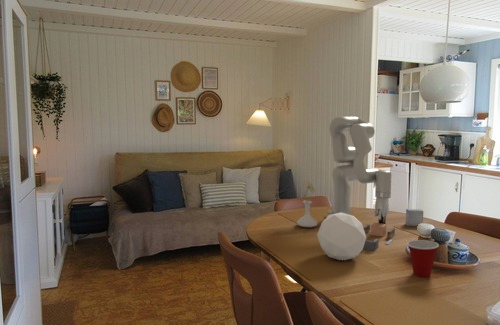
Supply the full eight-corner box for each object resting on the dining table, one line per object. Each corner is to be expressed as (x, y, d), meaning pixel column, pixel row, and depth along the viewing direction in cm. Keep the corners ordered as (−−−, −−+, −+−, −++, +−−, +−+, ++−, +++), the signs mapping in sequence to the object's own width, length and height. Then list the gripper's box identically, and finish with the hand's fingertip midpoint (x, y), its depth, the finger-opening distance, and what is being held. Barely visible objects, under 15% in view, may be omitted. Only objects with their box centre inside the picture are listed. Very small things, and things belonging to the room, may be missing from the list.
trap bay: (347, 246, 171) (348, 237, 171) (352, 242, 176) (352, 234, 175) (374, 251, 164) (374, 242, 164) (378, 247, 169) (378, 238, 169)
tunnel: (361, 234, 189) (362, 227, 189) (367, 230, 196) (367, 223, 196) (390, 238, 181) (390, 231, 181) (394, 234, 188) (394, 228, 187)
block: (370, 234, 188) (371, 225, 188) (374, 231, 193) (374, 222, 193) (382, 236, 185) (383, 227, 184) (386, 233, 190) (386, 224, 189)
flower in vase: (319, 229, 198) (319, 182, 196) (297, 229, 199) (298, 182, 196) (315, 222, 211) (316, 179, 209) (295, 222, 212) (295, 179, 209)
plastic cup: (410, 266, 147) (411, 236, 146) (440, 273, 140) (442, 242, 139) (401, 275, 139) (402, 243, 137) (433, 282, 132) (434, 249, 130)
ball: (327, 272, 158) (303, 231, 164) (364, 250, 164) (339, 211, 170) (343, 266, 141) (315, 219, 147) (383, 242, 147) (355, 198, 153)
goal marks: (352, 238, 183) (352, 237, 183) (357, 234, 189) (357, 233, 189) (388, 244, 173) (388, 244, 173) (392, 240, 179) (392, 239, 179)
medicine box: (420, 224, 208) (420, 208, 207) (423, 226, 203) (423, 210, 202) (405, 223, 208) (406, 208, 207) (408, 226, 204) (408, 210, 203)
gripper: (379, 191, 200) (378, 224, 201) (371, 196, 187) (370, 231, 189) (394, 192, 195) (393, 227, 197) (386, 197, 183) (385, 234, 185)
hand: (381, 229), depth 193 cm, fingers closed
